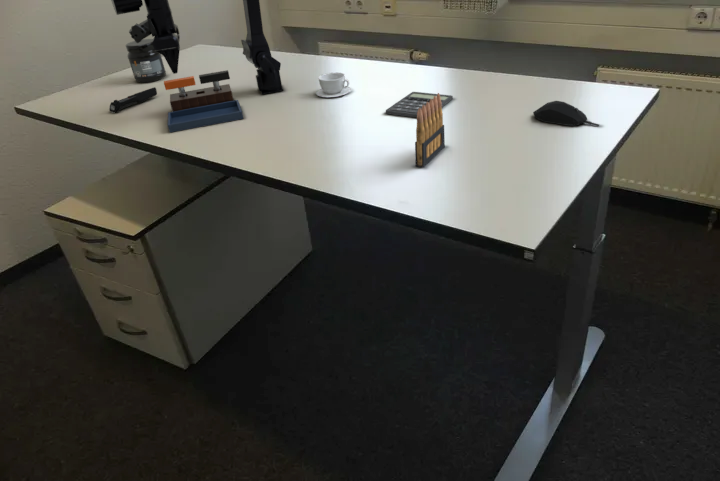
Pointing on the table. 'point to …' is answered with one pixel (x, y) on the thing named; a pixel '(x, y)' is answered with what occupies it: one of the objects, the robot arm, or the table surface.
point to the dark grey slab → (214, 78)
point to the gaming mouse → (561, 114)
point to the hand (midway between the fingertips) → (175, 69)
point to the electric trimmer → (132, 100)
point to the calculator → (415, 103)
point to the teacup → (333, 85)
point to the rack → (201, 98)
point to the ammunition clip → (429, 132)
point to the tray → (204, 115)
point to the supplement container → (145, 61)
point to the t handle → (180, 84)
